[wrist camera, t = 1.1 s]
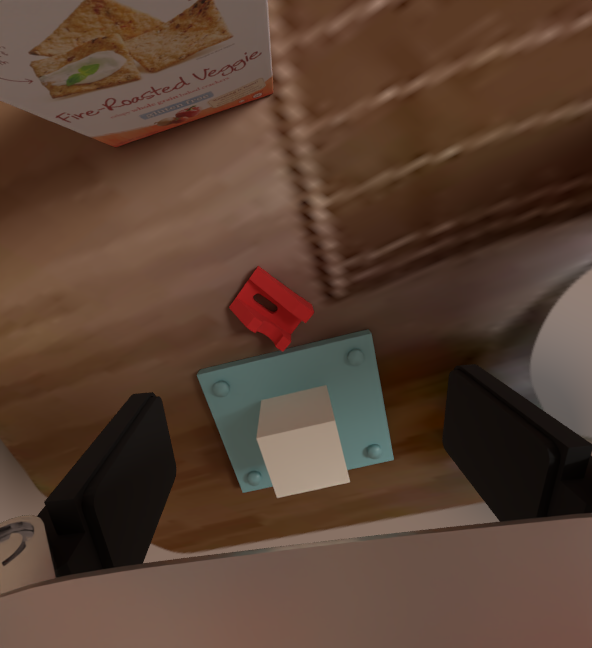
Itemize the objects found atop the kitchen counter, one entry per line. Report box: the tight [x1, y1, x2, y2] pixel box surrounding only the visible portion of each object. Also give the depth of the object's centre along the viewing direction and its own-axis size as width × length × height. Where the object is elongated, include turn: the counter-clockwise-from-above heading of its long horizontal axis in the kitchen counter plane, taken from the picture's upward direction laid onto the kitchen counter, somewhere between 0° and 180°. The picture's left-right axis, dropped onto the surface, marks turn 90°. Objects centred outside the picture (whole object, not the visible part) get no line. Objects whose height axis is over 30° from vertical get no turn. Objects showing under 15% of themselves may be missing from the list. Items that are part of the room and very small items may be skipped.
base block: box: [256, 385, 350, 498], centre depth 31 cm, size 7×7×6 cm
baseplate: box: [197, 329, 394, 493], centre depth 34 cm, size 18×16×2 cm
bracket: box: [229, 266, 314, 352], centre depth 30 cm, size 6×5×3 cm
